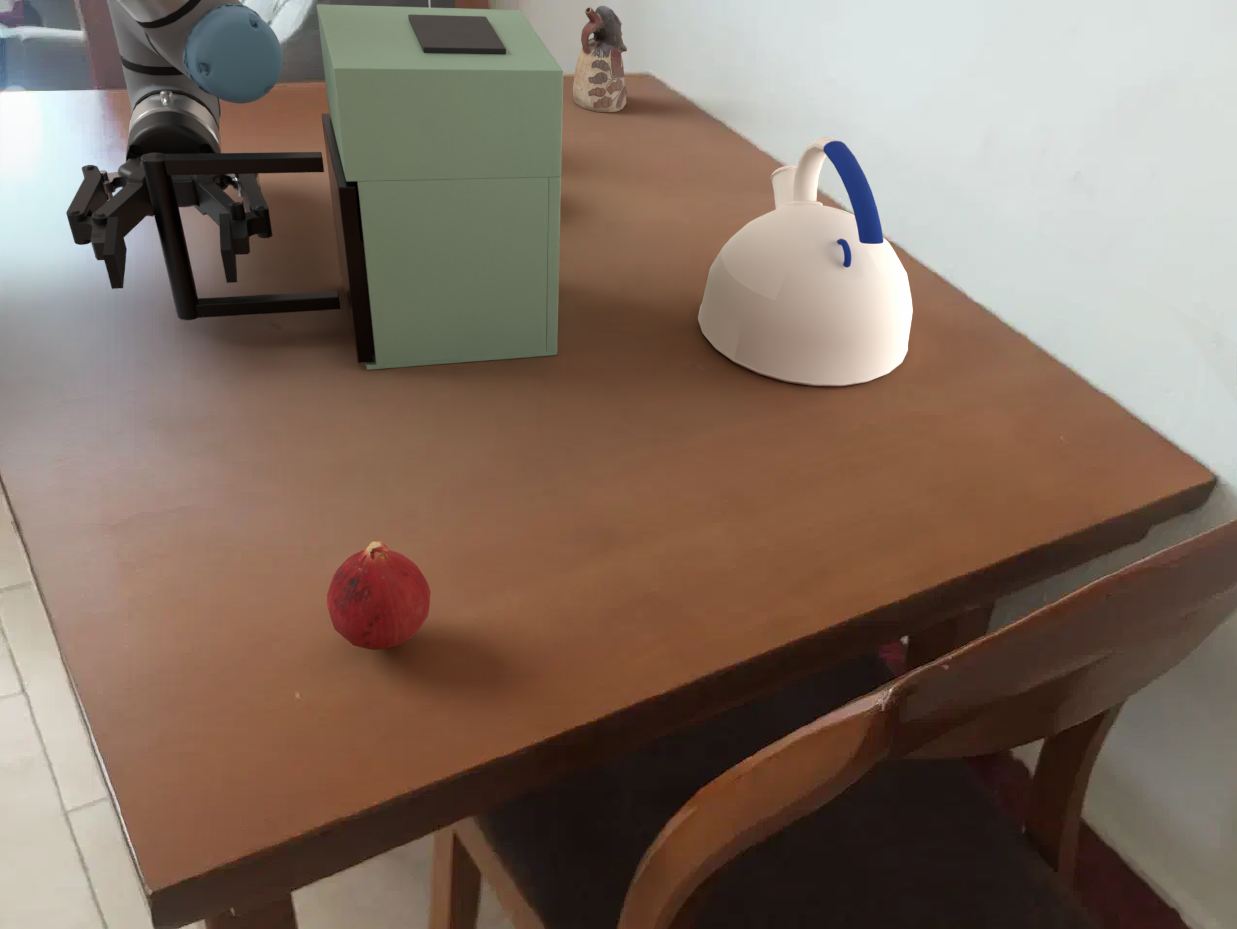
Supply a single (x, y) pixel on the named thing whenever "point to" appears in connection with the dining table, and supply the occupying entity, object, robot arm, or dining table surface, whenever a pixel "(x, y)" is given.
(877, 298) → the kettle
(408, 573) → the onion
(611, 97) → the figurine
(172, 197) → the dark brown drawer
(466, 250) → the sage green appliance box
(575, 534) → the dining table surface
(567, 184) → the dining table surface
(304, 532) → the dining table surface
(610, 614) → the dining table surface
